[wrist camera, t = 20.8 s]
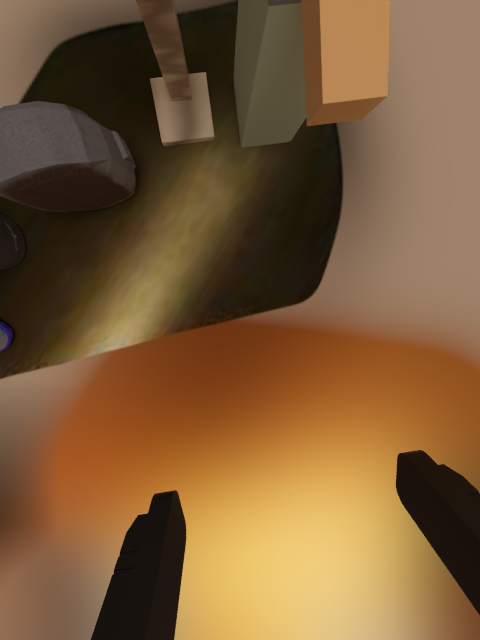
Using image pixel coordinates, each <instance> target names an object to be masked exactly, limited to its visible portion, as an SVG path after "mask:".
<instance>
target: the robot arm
mask: <svg viewBox="0 0 480 640" xmlns="http://www.w3.org/2000/svg"><path fill="white" fill-rule="evenodd" d="M25 251H26V243H25V239H24V236H23V234H22V232H21V230H20V229H19V228H18V226H17V225H16V224H15V223H14V222H13V221H12V220H11V219H9V218H8V217H6V216H4V215H2V214H0V270H4V269H10V268H13V267H15V266H17V265H18V264H19V263H20V262H21V261H22V260H23V258H24V255H25ZM396 489H397V493H398V496H399V498H400V500H401V502H402V504H403V505H404V507H405V509H406V510H407V511H408V513H409V514H410V516H411V517H412V519H413V520H414V521H415V523H416V524H417V525H418V527H419V529H420V530H421V531H422V533H423V534H424V536H425V537H426V538H427V540H428V542H429V543H430V544H431V546H432V547H433V549H434V550H435V552H436V553H437V554H438V556H439V557H440V559H441V560H442V562H443V563H444V565H445V566H446V567H447V569H448V570H449V572H450V573H451V574H452V576H453V577H454V579H455V580H456V582H457V583H458V585H459V586H460V587H461V589H462V590H463V592H464V593H465V595H466V596H467V598H468V599H469V600H470V602H471V603H472V605H473V606H474V608H475V609H476V610H477V612H478V613H479V615H480V494H479V492H478V490H477V489H476V488H475V487H474V486H472V485H471V484H470V483H469V482H468V481H467V480H466V479H465V478H464V477H463V476H462V475H460V474H458V473H457V472H455V471H454V470H452V469H450V468H449V467H447V466H446V465H444V464H443V465H437V464H436V463H435V462H434V461H433V460H432V458H430V456H429V455H427V454H426V453H425V452H424V451H422V450H418V451H412V452H405V453H400V454H399V455H398V458H397V475H396ZM185 545H186V523H185V518H184V515H183V511H182V507H181V503H180V499H179V495H178V493H177V491H176V490H175V491H170V492H163V493H157V494H154V496H153V498H152V501H151V505H150V508H149V512H148V514H143V515H138V516H137V518H136V519H135V521H134V522H133V524H132V525H131V527H130V528H129V530H128V531H127V533H126V536H125V539H124V542H123V545H122V548H121V551H120V556H119V557H118V560H117V563H116V566H115V569H114V574H113V575H112V578H111V581H110V584H109V587H108V590H107V593H106V596H105V599H104V602H103V605H102V608H101V611H100V614H99V617H98V620H97V623H96V626H95V629H94V632H93V635H92V638H91V640H174V635H175V627H176V619H177V610H178V602H179V594H180V586H181V578H182V570H183V562H184V553H185Z"/></svg>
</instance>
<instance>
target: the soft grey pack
mask: <svg viewBox="0 0 480 640" xmlns="http://www.w3.org/2000/svg"><path fill="white" fill-rule="evenodd" d="M135 167H136V165H135V163H134V160H133V158H132V156H131V153H130V151H129V149H128V147H127V145H126V143H125V141H124V140H123V139H122V138H121V137H120V135H119V134H118V133H117V132H114V131H110V130H109V129H107V128H105V127H103V126H101V125H100V124H99V123H98V122H96V121H95V120H94V119H92V118H91V117H90V116H88V115H87V114H86V113H84V112H83V111H80V110H78V109H75V108H72V107H70V106H67V105H64V104H57V103H49V102H40V101H35V102H29V103H23V104H16V105H10V106H4V107H2V108H1V109H0V196H1V197H4V198H7V199H10V200H12V201H15V202H18V203H20V204H23V205H27V206H30V207H33V208H36V209H39V210H43V211H54V212H79V211H92V210H97V209H101V208H105V207H109V206H112V205H114V204H117V203H119V202H121V201H124V200H126V199H127V198H129V197H130V196H132V195H133V194H134V193H135V187H136V177H135V172H134V169H135Z"/></svg>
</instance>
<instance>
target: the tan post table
mask: <svg viewBox="0 0 480 640" xmlns="http://www.w3.org/2000/svg"><path fill="white" fill-rule="evenodd" d="M136 1H137V4H138V7H139V9H140V12H141V15H142V18H143V21H144V24H145V27H146V29H147V32H148V35H149V38H150V41H151V44H152V47H153V49H154V52H155V55H156V58H157V61H158V64H159V67H160V69H161V72H162V75H163V77H159V78H151V79H150V81H151V87H152V92H153V97H154V103H155V108H156V113H157V119H158V124H159V129H160V135H161V140H162V144H163V145H164V146H172V145H180V144H188V143H197V142H205V141H213V140H215V138H214V130H213V123H212V115H211V108H210V100H209V93H208V86H207V78H206V72H202V73H194V74H188V70H187V65H186V60H185V55H184V50H183V45H182V39H181V34H180V29H179V24H178V19H177V14H176V9H175V4H174V0H136Z"/></svg>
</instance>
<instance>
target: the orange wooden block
mask: <svg viewBox="0 0 480 640" xmlns="http://www.w3.org/2000/svg"><path fill="white" fill-rule="evenodd" d="M301 9H302V30H303V51H304V72H305V93H306V114H307V126H312V125H320V124H328V123H336V122H343V121H352V120H359V119H363V118H364V117H365V116H366V115H367V114H368V113H369V112H370V111H371V110H373V109H374V108H375V107H376V106H377V105H378V104H379V103H380V102H381V101H383V100H384V99H385V98H386V97H387V96H388V62H389V28H390V0H301Z"/></svg>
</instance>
